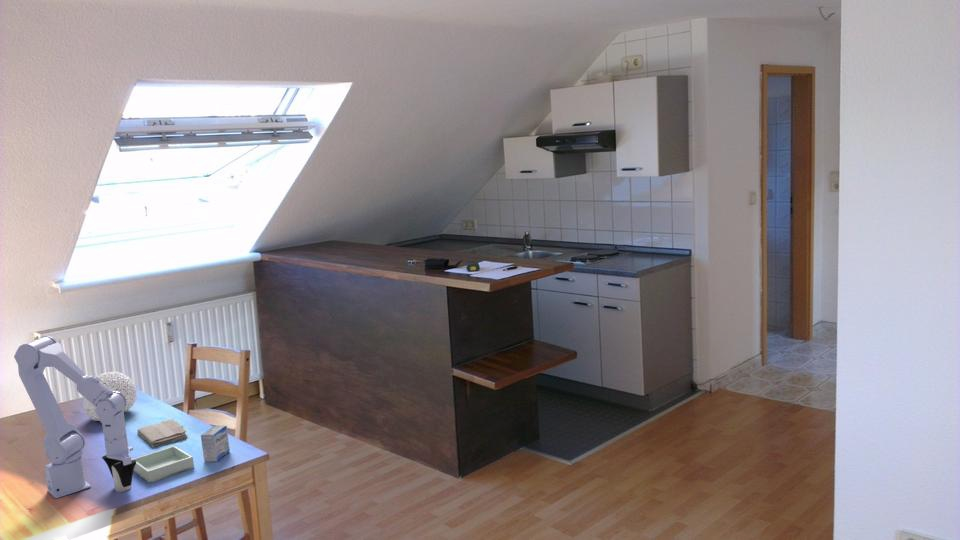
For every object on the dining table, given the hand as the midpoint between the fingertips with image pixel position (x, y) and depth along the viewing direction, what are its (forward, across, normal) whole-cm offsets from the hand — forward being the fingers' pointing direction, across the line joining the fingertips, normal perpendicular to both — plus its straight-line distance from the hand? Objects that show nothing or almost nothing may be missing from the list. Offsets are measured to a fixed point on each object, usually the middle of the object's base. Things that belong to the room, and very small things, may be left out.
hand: (122, 482), depth 224 cm
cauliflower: (+2, +66, -20) cm, 69 cm away
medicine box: (+2, 0, -28) cm, 28 cm away
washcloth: (+3, +32, -24) cm, 40 cm away
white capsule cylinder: (+2, 0, 0) cm, 2 cm away
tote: (+2, +4, -13) cm, 14 cm away
